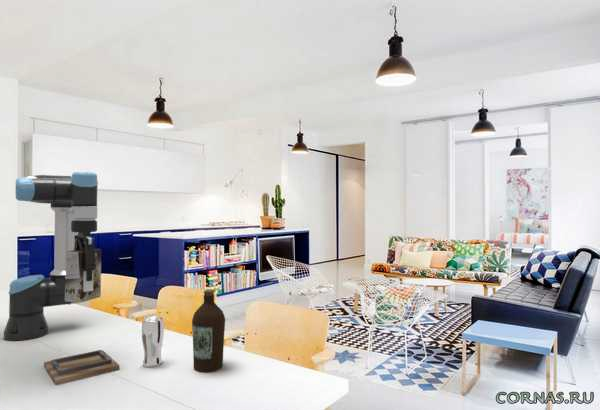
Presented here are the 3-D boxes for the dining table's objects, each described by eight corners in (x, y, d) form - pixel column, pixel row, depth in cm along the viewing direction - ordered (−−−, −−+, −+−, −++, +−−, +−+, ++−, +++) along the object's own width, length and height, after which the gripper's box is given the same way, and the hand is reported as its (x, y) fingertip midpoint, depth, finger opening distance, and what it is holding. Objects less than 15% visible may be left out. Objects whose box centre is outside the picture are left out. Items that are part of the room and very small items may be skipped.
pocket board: (43, 366, 136) (43, 358, 136) (102, 354, 148) (102, 346, 148) (55, 385, 123) (55, 376, 123) (119, 369, 135) (119, 361, 135)
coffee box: (81, 303, 131) (81, 251, 131) (64, 301, 132) (64, 250, 132) (101, 296, 139) (102, 248, 139) (85, 295, 141) (85, 247, 141)
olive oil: (202, 359, 144) (203, 286, 144) (230, 363, 141) (230, 289, 141) (185, 370, 134) (185, 293, 134) (214, 375, 131) (215, 295, 131)
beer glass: (167, 361, 142) (168, 317, 142) (154, 369, 135) (154, 322, 135) (150, 359, 144) (151, 315, 144) (136, 366, 137) (137, 320, 137)
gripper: (63, 218, 142) (62, 284, 142) (80, 221, 125) (80, 295, 125) (87, 218, 147) (86, 282, 147) (107, 220, 130) (106, 292, 130)
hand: (83, 288), depth 136 cm, fingers closed on coffee box, 10 cm apart
